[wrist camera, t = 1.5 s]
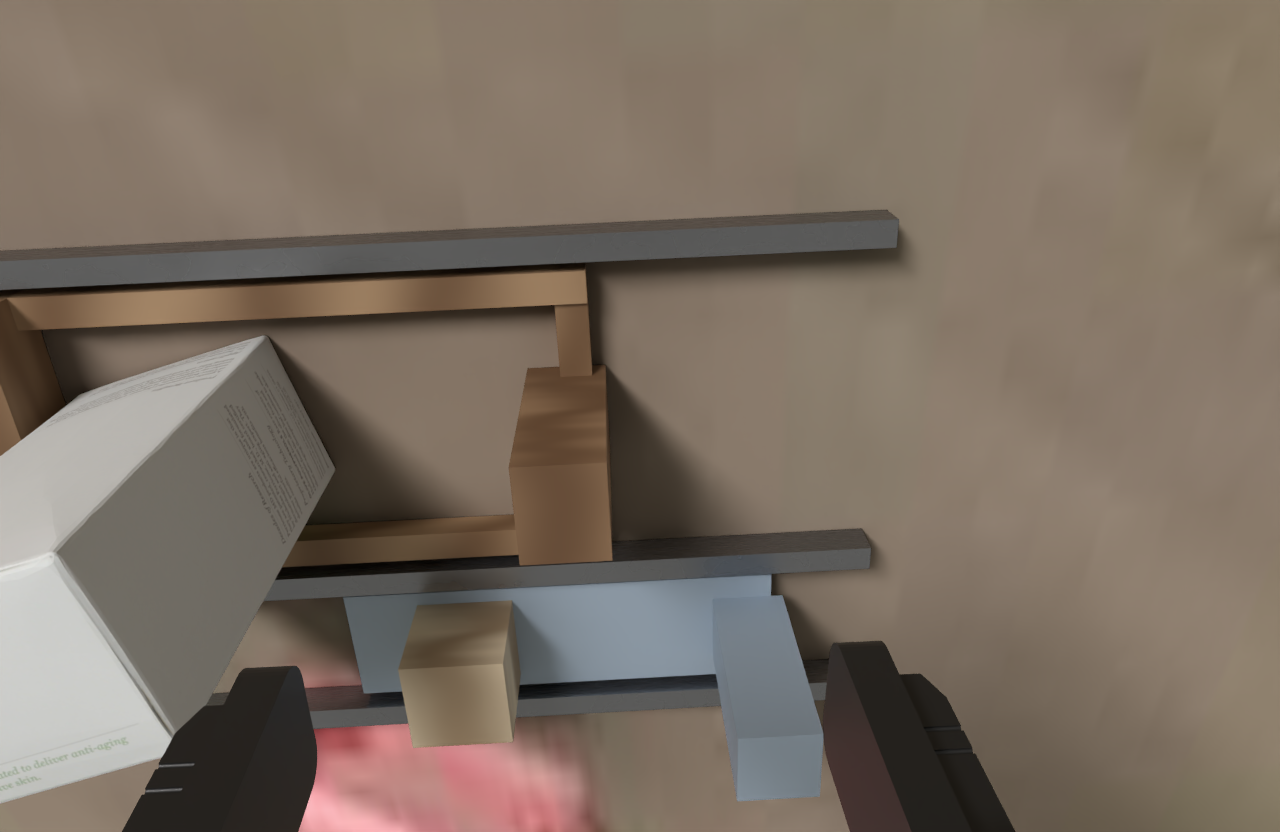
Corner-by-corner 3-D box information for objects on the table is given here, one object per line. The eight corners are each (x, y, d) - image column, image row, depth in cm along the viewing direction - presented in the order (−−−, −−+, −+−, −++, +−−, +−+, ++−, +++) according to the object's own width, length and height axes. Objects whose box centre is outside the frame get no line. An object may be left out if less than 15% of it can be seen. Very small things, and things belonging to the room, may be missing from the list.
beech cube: (512, 600, 39) (502, 663, 35) (520, 674, 40) (512, 742, 37) (417, 605, 39) (398, 669, 35) (429, 679, 40) (413, 747, 37)
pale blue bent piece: (779, 560, 39) (825, 709, 31) (775, 655, 42) (818, 818, 34) (349, 583, 39) (283, 740, 31) (369, 678, 41) (312, 847, 33)
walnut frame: (599, 261, 33) (598, 337, 26) (615, 533, 39) (618, 660, 31) (-8, 289, 33) (-178, 375, 26) (89, 561, 38) (-31, 696, 31)
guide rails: (886, 209, 33) (898, 219, 32) (850, 675, 42) (858, 698, 41) (-63, 254, 32) (-93, 265, 31) (110, 716, 42) (93, 741, 40)
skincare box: (158, 523, 38) (-108, 846, 23) (69, 382, 35) (-292, 653, 21) (347, 468, 37) (190, 768, 23) (272, 319, 34) (40, 556, 20)
